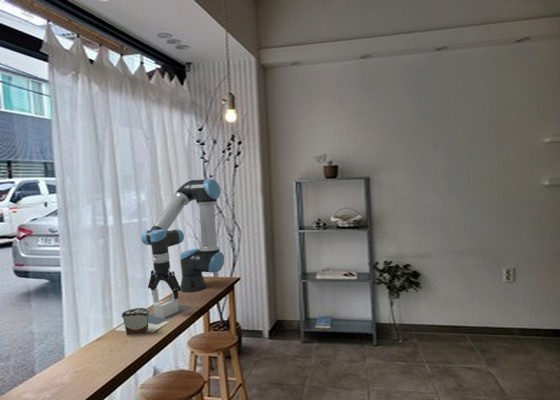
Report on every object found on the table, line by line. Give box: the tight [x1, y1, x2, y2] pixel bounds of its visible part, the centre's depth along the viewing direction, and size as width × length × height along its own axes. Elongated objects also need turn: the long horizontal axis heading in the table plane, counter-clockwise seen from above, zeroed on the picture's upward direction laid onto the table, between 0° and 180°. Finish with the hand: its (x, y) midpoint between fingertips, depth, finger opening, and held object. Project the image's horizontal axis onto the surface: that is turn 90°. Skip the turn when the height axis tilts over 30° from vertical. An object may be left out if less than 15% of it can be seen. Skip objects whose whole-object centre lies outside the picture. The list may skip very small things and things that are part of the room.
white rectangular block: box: [152, 297, 179, 318], centre depth 193 cm, size 10×6×6 cm, turn 150°
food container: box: [121, 307, 151, 336], centre depth 173 cm, size 12×6×10 cm, turn 84°
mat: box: [148, 304, 193, 325], centre depth 193 cm, size 24×13×1 cm, turn 150°
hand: (165, 303), depth 193 cm, fingers open, 13 cm apart
